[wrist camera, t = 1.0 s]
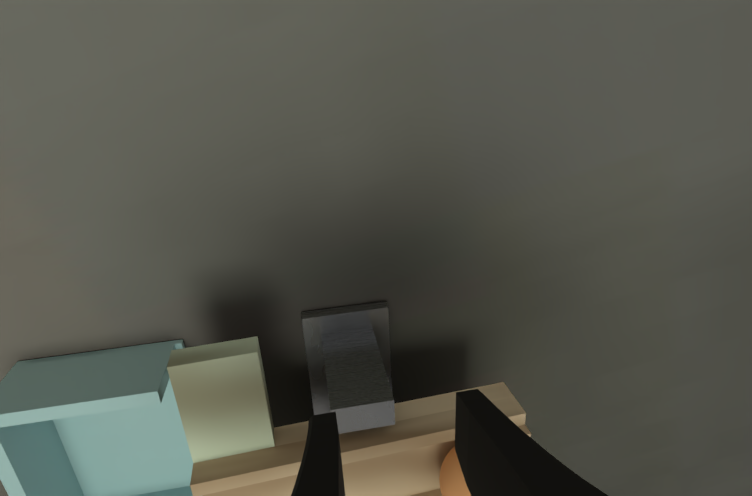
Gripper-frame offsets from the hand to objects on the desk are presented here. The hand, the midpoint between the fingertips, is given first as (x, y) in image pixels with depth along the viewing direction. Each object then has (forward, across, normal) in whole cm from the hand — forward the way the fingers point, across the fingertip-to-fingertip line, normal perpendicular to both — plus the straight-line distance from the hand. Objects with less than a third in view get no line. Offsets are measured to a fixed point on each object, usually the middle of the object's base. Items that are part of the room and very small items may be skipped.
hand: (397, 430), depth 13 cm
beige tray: (+6, +1, +5) cm, 8 cm away
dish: (+10, +11, +7) cm, 17 cm away
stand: (+10, 0, +7) cm, 12 cm away
